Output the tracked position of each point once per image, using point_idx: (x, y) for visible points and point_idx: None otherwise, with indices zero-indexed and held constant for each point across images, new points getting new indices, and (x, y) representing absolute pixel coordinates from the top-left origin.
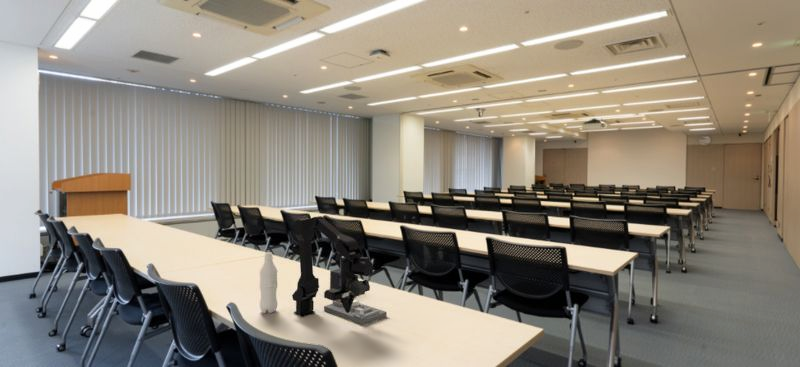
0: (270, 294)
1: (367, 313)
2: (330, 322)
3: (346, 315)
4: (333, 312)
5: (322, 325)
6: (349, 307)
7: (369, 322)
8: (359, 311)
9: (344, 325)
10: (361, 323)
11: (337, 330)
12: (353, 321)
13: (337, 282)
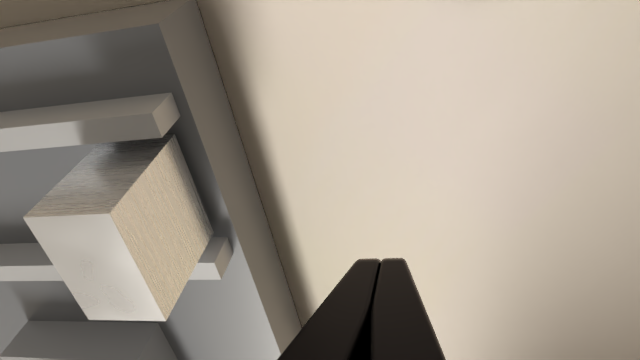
0: None
1: (18, 203)
2: (490, 331)
3: (278, 324)
4: None
5: (628, 329)
6: (352, 340)
7: (73, 17)
8: (128, 209)
9: (420, 173)
10: (201, 47)
11: (635, 93)
12: (256, 192)
13: None
